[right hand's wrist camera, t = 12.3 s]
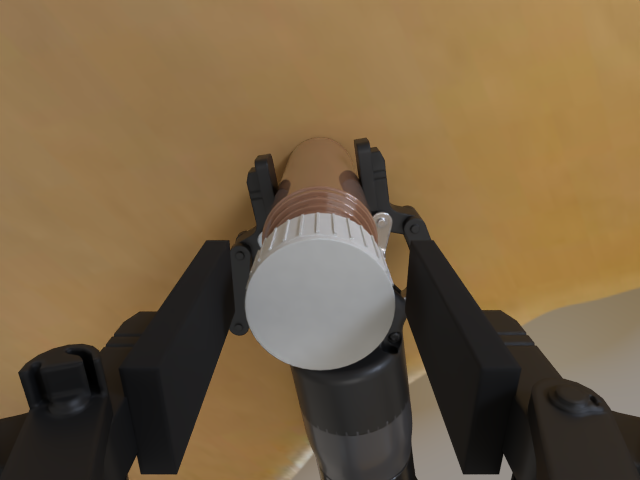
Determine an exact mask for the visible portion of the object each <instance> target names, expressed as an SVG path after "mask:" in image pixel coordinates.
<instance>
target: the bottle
mask: <svg viewBox="0 0 640 480" xmlns="http://www.w3.org/2000/svg"><path fill="white" fill-rule="evenodd" d="M317 212H319V213H328V214H332V213H334V214H335V215H338V216H341V217H345V218H350V220H351V221H353V222H355V223H357V224H358V225H362V226H363V229H365V230H366V231H367V232H368V233H369V234H370V235H373V237H374V240H375V242H376V243H377V245H378V233H377V228H376V225H375V221H374V219H373V216H372V213H371V211H370V208H369V205H368V203H367V200H366V197H365V195H364V192H363V189H362V187H361V184H360V181H359V179H358V176H357V173H356V170H355V168H354V165H353V162H352V160H351V157H350V155H349V153H348V152H347V150H346V149H345V148H344V147H343V146H342V145H341V144H339V143H338V142H336V141H334V140H332V139H329V138H322V137H318V138H312V139H308V140H306V141H304V142H302V143H301V144H299V145H298V146H297V147H296V148H295V149H294V150H293V152H292V153H291V155H290V157H289V159H288V162H287V165H286V168H285V170H284V173H283V176H282V178H281V181H280V184H279V186H278V189H277V192H276V194H275V197H274V200H273V202H272V205H271V208H270V210H269V213H268V216H267V218H266V221H265V224H264V228H263V232H262V245H263V242H264V239H265V238H268V236H269V235H270V234H271V233H272V232H273V231H274V228H278V227H279V226H280V225H282V224H283V223H285V222H286V221H287V220H288V219H289V220H291V219H293V218H295V217H298V216H301V215H302V214H304V215H306V214H313V213H317Z"/></svg>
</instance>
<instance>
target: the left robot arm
mask: <svg viewBox="0 0 640 480" xmlns="http://www.w3.org/2000/svg"><path fill="white" fill-rule="evenodd" d="M354 147H355V154H356V162H357V169H358V176H359V181H360V184H361V187H362V189H363V192H364V195H365V197H366V200H367V203H368V205H369V208H370V211H371V213H372V216H373V219H374V221H375V225H376V228H377V233H378V247H381V250H382V253H383V255H384V258H385V252H386V247H387V243H388V239H389V235H390V232H393V233H399V234H403V235H404V237H405V240H406V242H407V245H408V247H409V250H410V243H411V240H431V238H430V236H429V233H428V230H427V227H426V225H425V223H424V221H423V220H422V218H421V217H420V216H419V214H418V213H417V211H416V210H415V209H414V208H413V207H411V206H403V207H401V206H395V205H393V204H391V203H389V196H388V187H387V178H386V169H385V160H384V158H383V156H382V154H381V153H380V151H379V150H378V148H377V147H373V148H370V144H369V141H368V139H367V138H362V139H356V140H354ZM247 186H248V190H249V194H250V199H251V203H252V207H253V211H254V215H255V220H256V224H257V226H256V227H254V228H253V229H251V230H249V231H243V232H241V233H240V234H239V235H238V237H237V239H236V242H235V244H234V245H233V247H232V248H231V250H230V255H231V267H232V279H233V290H234V302H235V314H234V317H233V319H232V322H231V325H230V328H229V329H230V331H231V332H232V333H233V334H235V335H244V334H246V333H247V331H248V329H249V328H250V327H249V325H248V322H247V319H246V314H245V294H246V289H245V288H246V285H247V282H248V279H249V276H250V275H249V274H250V271H251V268H252V266H253V263H254V260H255V257H256V254H257V251H258V250H260V249H261V247H262V232H263V228H264V224H265V221H266V218H267V216H268V213H269V210H270V208H271V205H272V202H273V200H274V197H275V194H276V192H277V189H278V183H277V178H276V174H275V169H274V164H273V159H272V156H271V154H266V155H260V156H258V157H257V158H256V159H255V167H252V168H251V170H250V171H249V172H248V177H247ZM392 287H393V290H394V295H395V313H394V318H393V322H392V325H391V327H390V329H389V331H388V333H387V335H386V336H385V338H384V340H383V341H382V342H381V343H380V344H379V346H378V347H377V348H376V349H375V350H373V351H372V352H371V353H370V354H369V355H367V356H366V357H364V358H363V359H361V360H359V361H357V362H355V363H353V364H350V365H348V366H345V367H341V368H337V369H331V370H309V369H303V368H299V367H295V366H292V365H290V366H291V370H292V374H293V378H294V382H295V387H296V391H297V395H298V400H299V404H300V408H301V412H302V416H303V421H304V425H305V429H306V433H307V436H308V440H309V442H310V445H311V447H312V450H313V452H314V454H315V457H316V460H317V465H318V469H319V473H320V478H321V480H417V478H416V476H415V469H414V463H413V454H412V446H411V435H412V412H411V403H410V395H409V385H408V376H407V368H406V359H405V350H404V341H403V332H402V330H403V325H404V322H405V320H406V318H407V317H406V314H405V302H406V290H407V287H406V288H405V289H404V290H402V291H401V290H400V289H399V288H398V287H397V286H396V285H395V284H394V286H392Z"/></svg>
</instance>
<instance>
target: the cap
mask: <svg viewBox="0 0 640 480" xmlns="http://www.w3.org/2000/svg"><path fill="white" fill-rule="evenodd" d="M249 275H250V276H249V279H248V282H247V285H246V288H245V289H246V294H245V314H246V319H247V322H248V325H249V327H250V329H251V332H252V334H253V335H254V337H255V338H256V340H257V341H258V342H259V343H260V345H261V346H262V347H263V348H264V349H265V350H266V351H268V352H269V353H270V354H271V355H273V356H274V357H276V358H277V359H279V360H281V361H283V362H285V363H287V364H290V365H292V366H295V367H299V368H303V369H309V370H331V369H337V368H341V367H345V366H348V365H350V364H353V363H355V362H357V361H359V360H361V359H363V358H364V357H366V356H367V355H369V354H370V353H371V352H372V351H373V350H375V349H376V348H377V347H378V346H379V344H380V343H381V342H382V341H383V340H384V338H385V336H386V335H387V333H388V331H389V329H390V327H391V325H392V322H393V318H394V313H395V295H394V290H393V287H392V286H394V284H393V281H392V278H391V275H390V272H389V269H388V267H387V264H386V261H385V258H384V255H383V253H382V250H381V247H378V245H377V243H376V242H375V240H374V237H373V235H370V234H369V233H368V232H367V231H366V230H365V229H363V226H362V225H358V224H357V223H355V222H353V221H351V220H350V218H345V217H341V216H338V215H335V214H334V213H332V214H328V213H319V212H317V213H313V214H306V215H304V214H302V215H301V216H298V217H295V218H293V219H291V220H289V219H288V220H287V221H286V222H285V223H283V224H282V225H280V226H279V227H278V228H274V231H273V232H272V233H271V234H270V235H269V236H268V238H265V239H264V242H263V245H262V247H261V249H260V250H258V251H257V254H256V257H255V260H254V263H253V266H252V268H251V271H250V274H249Z"/></svg>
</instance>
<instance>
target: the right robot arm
mask: <svg viewBox="0 0 640 480" xmlns="http://www.w3.org/2000/svg"><path fill="white" fill-rule="evenodd" d="M234 314H235V302H234V290H233V279H232V267H231V255H230V243H229V240H206V242H205V243H204V245H203V246H202V248H201V249H200V251H199V252H198V253H197V255H196V256H195V258H194V259H193V261H192V262H191V264H190V265H189V267H188V268H187V269H186V271H185V272H184V274H183V275H182V277H181V278H180V280H179V281H178V283H177V284H176V285H175V287H174V288H173V290H172V291H171V293H170V294H169V296H168V297H167V299H166V300H165V301H164V303H163V304H162V306H161V307H160V309H159V310H158V312H138V313H137V314H135V315H134V316H132V317H131V318H129V319H128V320H126V321H125V322H123V324H122V325H121V326H120V327H119V329H118V330H117V331H116V332H115V334H114V337H112V338H111V339H110V340H109V341H108V343H107V344H106V347H104V348H103V349H102V350H101V351H100V352H99V350H97V349H96V348H95V347H94V346H90V345H85V344H73V345H66V346H62V347H58V348H54V349H51V350H49V351H47V352H44V353H42V354H40V355H38V356H36V357H35V358H33V359H32V360H30V361H29V362H27V363H26V364H25V365H24V366H23V368H22V369H21V370H20V371H19V372H18V373H19V376H20V380H21V383H22V386H23V389H24V392H25V395H26V398H27V401H28V405H29V408H30V410H29V412H28V413H25V414H22V415H17V416H13V417H8V418H4V419H0V480H129V478H128V472H129V470H130V468H131V466H132V464H133V462H134V460H135V458H136V455H137V458H138V463H139V467H140V472H141V474H177V473H178V470H179V467H180V464H181V461H182V459H183V456H184V453H185V450H186V447H187V445H188V442H189V439H190V436H191V434H192V431H193V428H194V425H195V422H196V420H197V417H198V414H199V411H200V408H201V406H202V403H203V400H204V397H205V395H206V392H207V389H208V386H209V383H210V381H211V378H212V375H213V372H214V369H215V367H216V364H217V361H218V358H219V356H220V353H221V350H222V347H223V344H224V342H225V339H226V336H227V333H228V330H229V328H230V325H231V322H232V319H233V317H234ZM405 314H406V317H407V319H408V322H409V325H410V328H411V330H412V333H413V336H414V339H415V342H416V344H417V347H418V350H419V353H420V356H421V358H422V361H423V364H424V367H425V369H426V372H427V375H428V378H429V381H430V383H431V386H432V389H433V392H434V395H435V397H436V400H437V403H438V406H439V408H440V411H441V414H442V417H443V420H444V422H445V425H446V428H447V431H448V434H449V436H450V439H451V442H452V445H453V447H454V450H455V453H456V456H457V459H458V461H459V464H460V467H461V470H462V472H463V474H499V472H500V467H501V463H502V458H503V453H504V455H505V457H506V460H507V462H508V464H509V466H510V468H511V470H512V472H513V474H512V478H511V480H640V417H636V416H631V415H627V414H622V413H618V412H615V411H611V409H610V408H609V406H608V405H607V404H606V402H605V401H604V399H603V398H602V397H600V396H599V395H598V394H596V393H595V392H594V391H593V390H591V389H589V388H587V387H585V386H583V385H581V384H579V383H577V382H573V381H570V380H566V379H563V378H562V377H561V376H560V374H559V373H558V372H557V371H556V369H555V368H554V367H553V366H552V364H551V363H550V362H549V361H548V359H547V358H546V357H545V356H544V354H543V353H542V352H541V351H540V349H539V348H538V347H537V346H535V345H534V342H533V341H532V339H531V338H530V337H529V336H528V335H526V332H525V331H524V329H523V328H522V327H521V326H520V324H519V323H518V322H517V321H516V320H515V319H513V318H512V317H510V316H508V315H507V314H505V313H504V312H502V311H501V310H481V309H480V307H479V306H478V304H477V303H476V301H475V300H474V299H473V297H472V296H471V294H470V293H469V291H468V290H467V288H466V287H465V285H464V284H463V283H462V281H461V280H460V278H459V277H458V275H457V274H456V272H455V271H454V269H453V268H452V267H451V265H450V264H449V262H448V261H447V259H446V258H445V256H444V255H443V253H442V252H441V251H440V249H439V248H438V246H437V245H436V243H435V242H434V240H411V243H410V255H409V267H408V279H407V290H406V302H405Z"/></svg>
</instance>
